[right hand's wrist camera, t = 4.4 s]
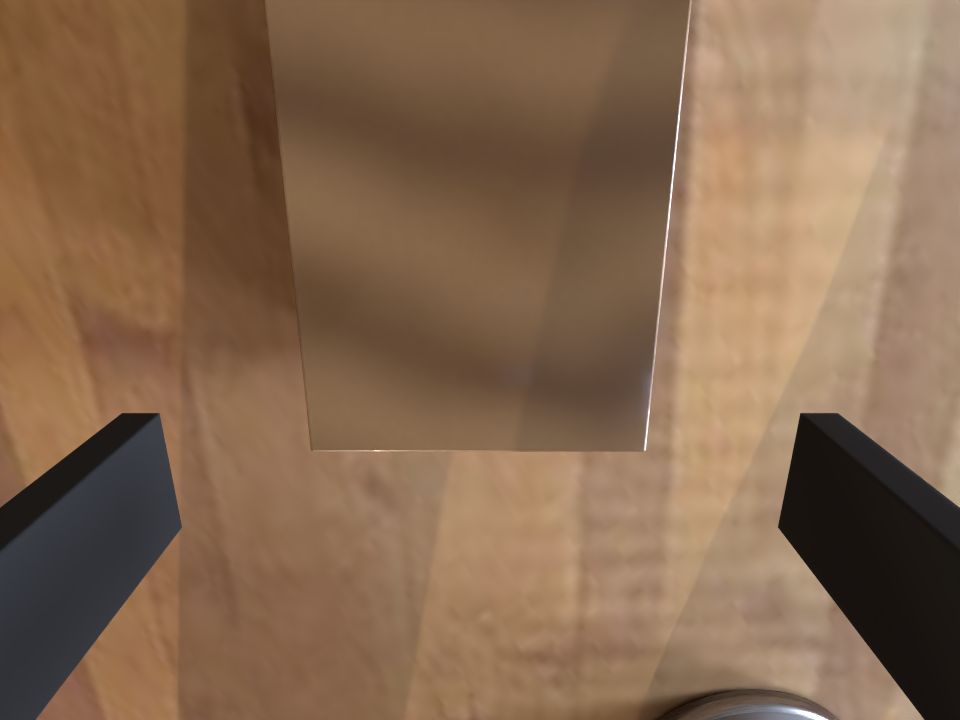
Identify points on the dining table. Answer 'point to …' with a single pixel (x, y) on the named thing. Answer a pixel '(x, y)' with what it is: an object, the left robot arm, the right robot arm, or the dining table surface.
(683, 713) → the right robot arm
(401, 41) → the cabinet
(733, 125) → the dining table surface
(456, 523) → the dining table surface
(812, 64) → the dining table surface
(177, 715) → the dining table surface
